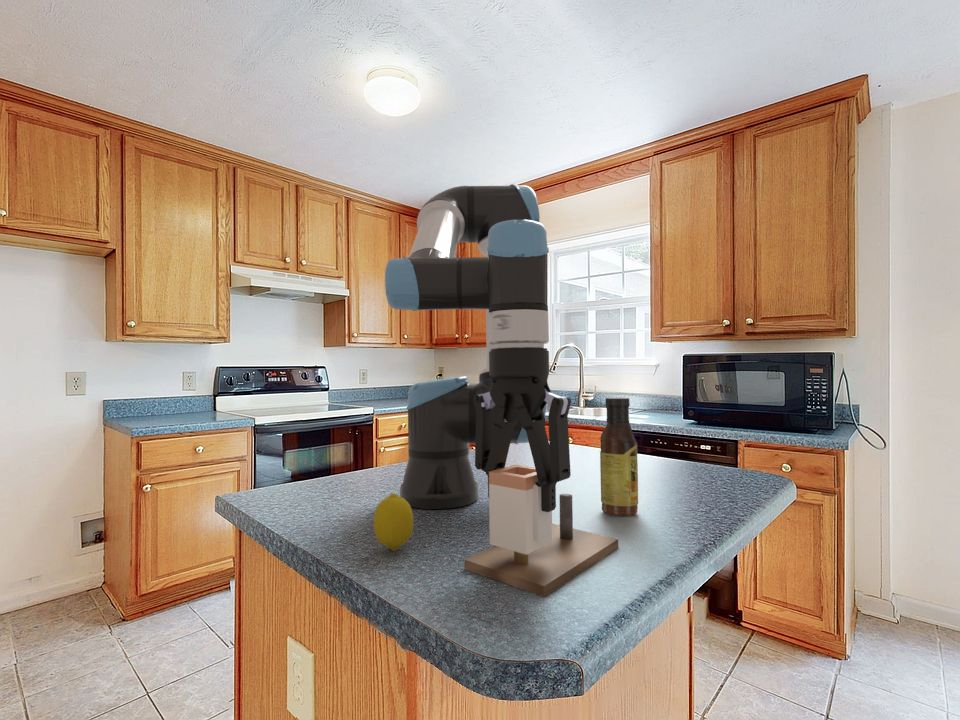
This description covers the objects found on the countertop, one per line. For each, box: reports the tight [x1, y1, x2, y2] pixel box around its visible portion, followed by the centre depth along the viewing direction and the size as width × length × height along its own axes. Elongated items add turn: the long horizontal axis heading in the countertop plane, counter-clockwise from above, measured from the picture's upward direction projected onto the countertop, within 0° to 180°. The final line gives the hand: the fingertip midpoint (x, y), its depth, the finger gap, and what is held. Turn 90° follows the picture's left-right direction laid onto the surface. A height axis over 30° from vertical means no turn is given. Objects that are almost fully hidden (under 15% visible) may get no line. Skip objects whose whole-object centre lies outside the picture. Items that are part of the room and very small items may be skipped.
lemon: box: [373, 493, 415, 552], centre depth 71 cm, size 6×6×8 cm
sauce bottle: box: [599, 396, 639, 517], centre depth 87 cm, size 7×6×20 cm
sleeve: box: [488, 464, 553, 555], centre depth 63 cm, size 6×6×9 cm
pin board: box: [464, 493, 619, 597], centre depth 67 cm, size 12×19×7 cm, turn 140°
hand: (521, 531), depth 63 cm, fingers closed on sleeve, 6 cm apart
